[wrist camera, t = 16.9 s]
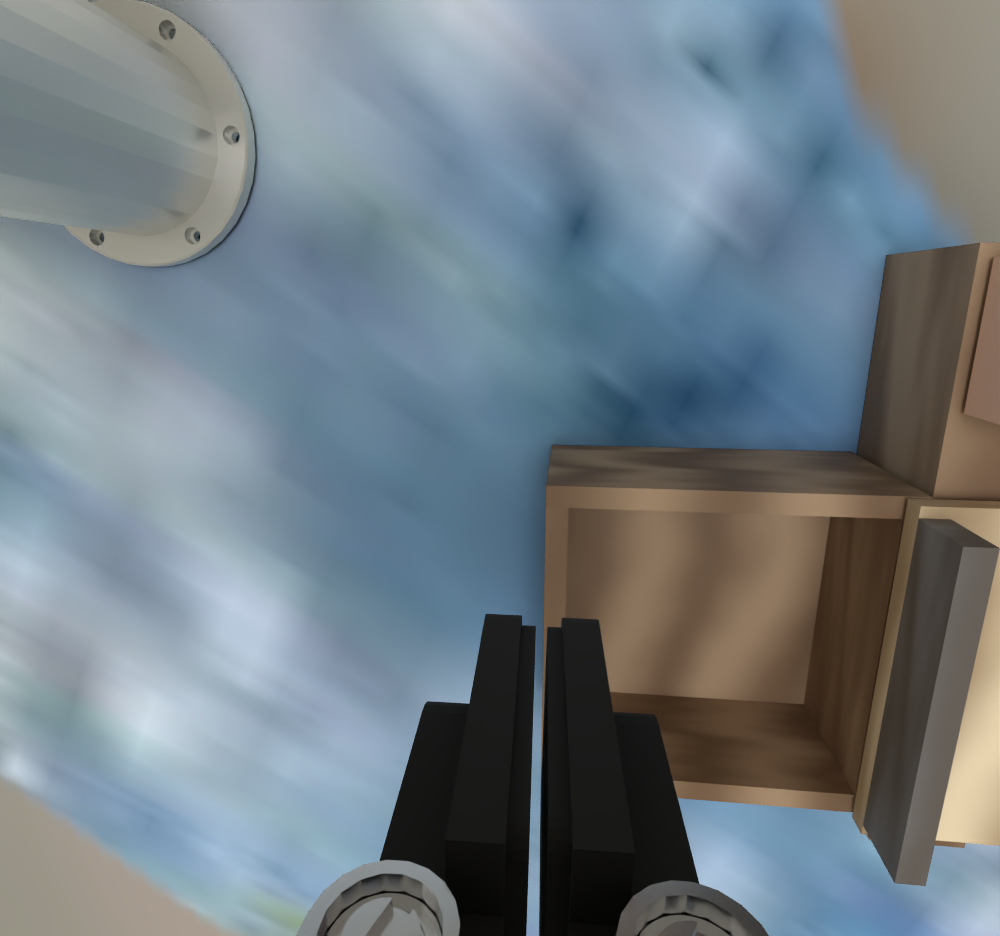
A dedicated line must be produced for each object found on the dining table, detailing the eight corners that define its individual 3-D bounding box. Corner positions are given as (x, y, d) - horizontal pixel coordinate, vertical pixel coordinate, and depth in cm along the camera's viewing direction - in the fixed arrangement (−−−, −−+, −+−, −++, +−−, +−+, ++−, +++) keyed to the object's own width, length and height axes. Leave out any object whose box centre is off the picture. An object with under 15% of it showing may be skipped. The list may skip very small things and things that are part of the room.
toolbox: (546, 719, 40) (540, 819, 33) (555, 258, 33) (550, 246, 25) (890, 743, 38) (970, 856, 30) (982, 254, 31) (1118, 240, 23)
